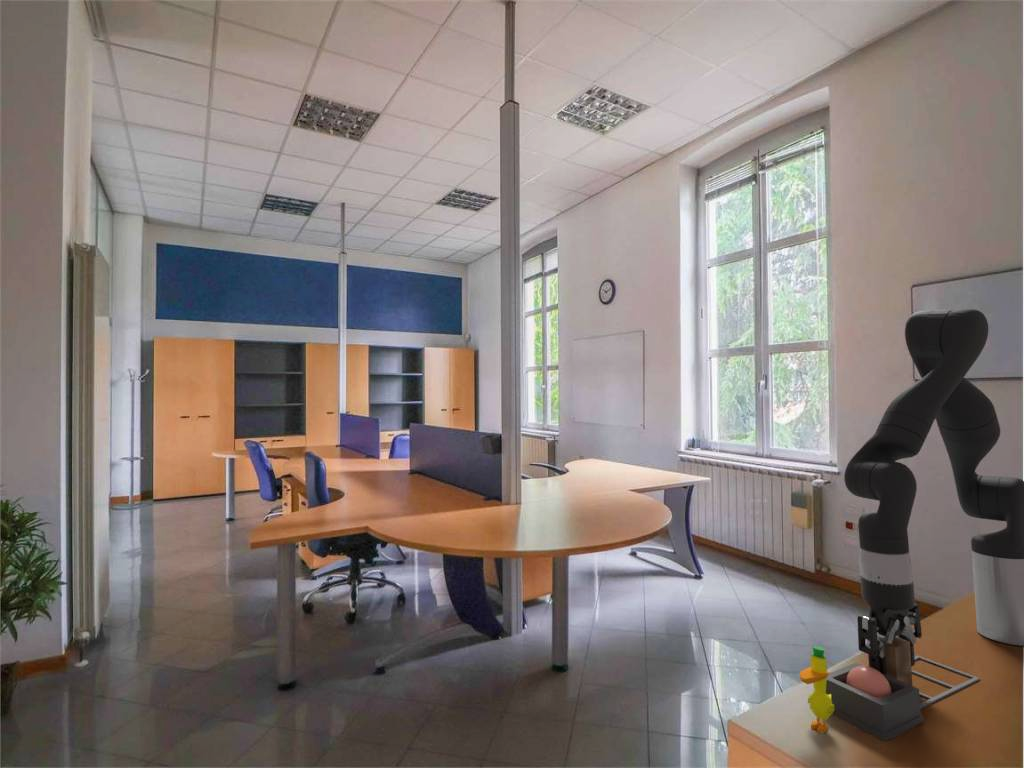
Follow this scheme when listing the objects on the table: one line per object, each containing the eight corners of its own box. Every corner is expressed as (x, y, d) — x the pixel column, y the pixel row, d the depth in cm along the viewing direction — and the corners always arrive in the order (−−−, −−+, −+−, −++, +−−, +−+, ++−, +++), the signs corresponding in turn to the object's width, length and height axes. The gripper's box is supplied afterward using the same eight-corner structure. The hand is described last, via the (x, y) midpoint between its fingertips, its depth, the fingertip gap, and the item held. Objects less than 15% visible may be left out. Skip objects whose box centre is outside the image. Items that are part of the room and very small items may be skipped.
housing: (857, 691, 90) (855, 661, 90) (923, 722, 81) (921, 689, 81) (819, 707, 86) (818, 676, 86) (885, 741, 77) (883, 706, 77)
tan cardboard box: (885, 684, 92) (881, 632, 93) (913, 695, 88) (909, 641, 89) (870, 690, 90) (867, 637, 91) (898, 703, 86) (895, 647, 87)
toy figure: (815, 741, 77) (811, 658, 78) (793, 728, 80) (789, 649, 81) (844, 728, 80) (839, 648, 81) (821, 716, 83) (817, 639, 84)
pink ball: (861, 692, 87) (859, 655, 88) (901, 710, 82) (898, 671, 82) (839, 702, 85) (837, 664, 85) (878, 721, 79) (876, 681, 80)
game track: (917, 656, 101) (917, 655, 101) (979, 679, 93) (979, 678, 93) (848, 685, 92) (848, 683, 92) (910, 713, 83) (910, 711, 83)
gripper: (885, 590, 84) (892, 692, 83) (933, 573, 90) (941, 669, 90) (838, 577, 91) (845, 672, 90) (886, 562, 97) (893, 651, 96)
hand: (893, 670), depth 90 cm, fingers open, 8 cm apart
